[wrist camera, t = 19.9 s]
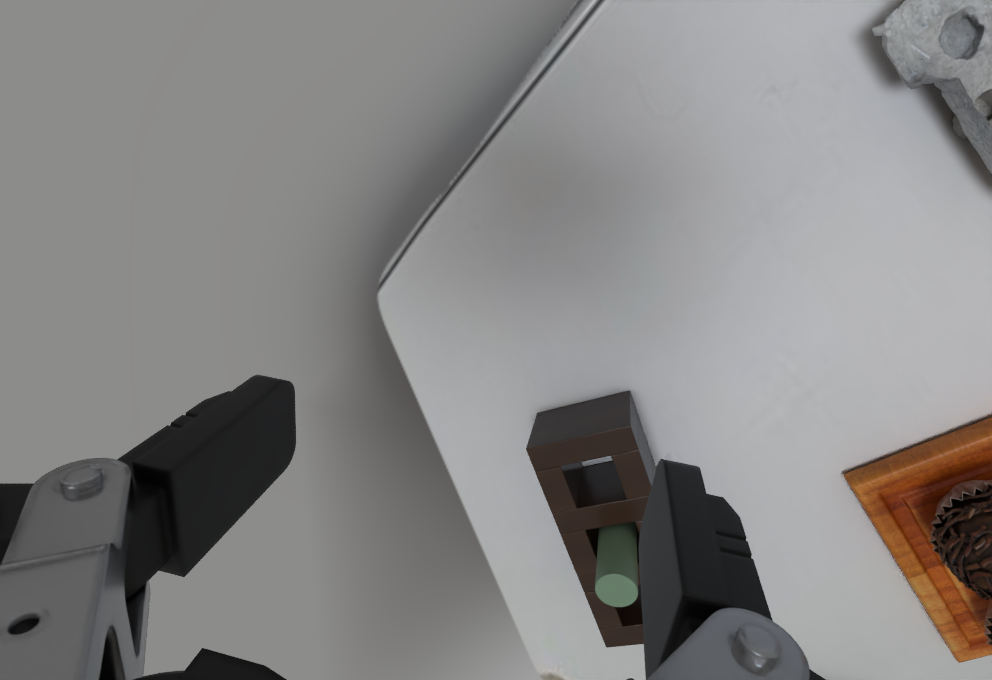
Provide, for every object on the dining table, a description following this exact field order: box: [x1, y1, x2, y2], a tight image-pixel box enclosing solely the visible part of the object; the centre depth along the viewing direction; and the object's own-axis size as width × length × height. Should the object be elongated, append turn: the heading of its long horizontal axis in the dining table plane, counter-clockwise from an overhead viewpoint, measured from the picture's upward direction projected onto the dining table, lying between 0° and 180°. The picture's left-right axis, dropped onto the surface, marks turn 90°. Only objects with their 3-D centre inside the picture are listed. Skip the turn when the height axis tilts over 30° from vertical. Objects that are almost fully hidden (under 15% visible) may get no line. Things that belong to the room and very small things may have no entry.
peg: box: [595, 522, 638, 607], centre depth 38 cm, size 3×3×9 cm
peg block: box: [526, 391, 656, 647], centre depth 40 cm, size 17×7×5 cm, turn 21°
